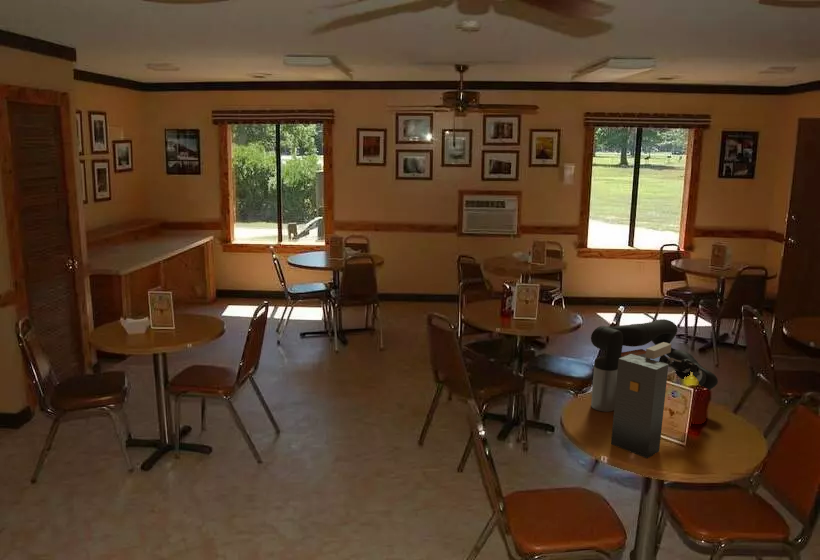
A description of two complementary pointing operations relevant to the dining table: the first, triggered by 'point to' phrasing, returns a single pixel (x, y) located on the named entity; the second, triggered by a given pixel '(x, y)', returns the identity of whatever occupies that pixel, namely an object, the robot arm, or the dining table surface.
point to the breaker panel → (639, 405)
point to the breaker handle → (658, 350)
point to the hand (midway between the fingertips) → (672, 359)
